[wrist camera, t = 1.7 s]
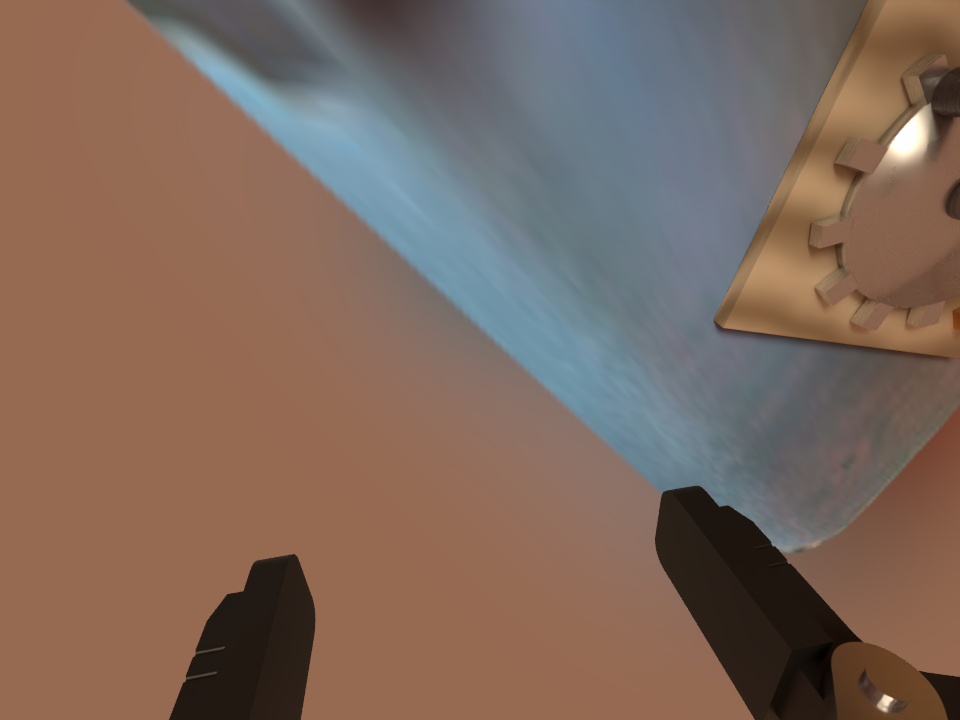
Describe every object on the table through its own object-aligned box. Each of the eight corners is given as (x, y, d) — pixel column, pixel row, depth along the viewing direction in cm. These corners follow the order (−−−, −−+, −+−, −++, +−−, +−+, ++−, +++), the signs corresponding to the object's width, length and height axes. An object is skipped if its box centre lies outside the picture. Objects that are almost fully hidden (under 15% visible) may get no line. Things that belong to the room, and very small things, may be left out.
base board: (909, -86, 29) (960, -103, 26) (1201, 27, 35) (1267, 22, 32) (713, 320, 42) (734, 336, 39) (947, 351, 48) (978, 367, 45)
